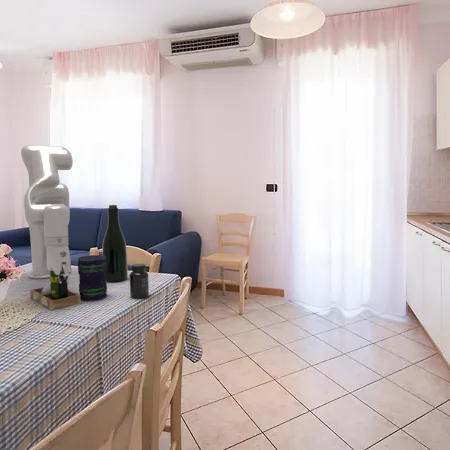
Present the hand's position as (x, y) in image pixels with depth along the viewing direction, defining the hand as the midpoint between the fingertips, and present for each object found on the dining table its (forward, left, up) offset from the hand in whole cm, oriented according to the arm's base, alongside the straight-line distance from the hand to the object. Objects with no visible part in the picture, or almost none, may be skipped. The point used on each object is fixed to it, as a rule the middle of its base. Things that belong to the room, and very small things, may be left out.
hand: (59, 291), depth 127 cm
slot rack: (-4, 0, -4) cm, 6 cm away
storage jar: (+2, +11, -4) cm, 13 cm away
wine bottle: (-14, +30, -4) cm, 34 cm away
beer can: (0, 0, -3) cm, 3 cm away
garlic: (-9, 0, -5) cm, 10 cm away
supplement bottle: (+14, +24, -4) cm, 28 cm away
